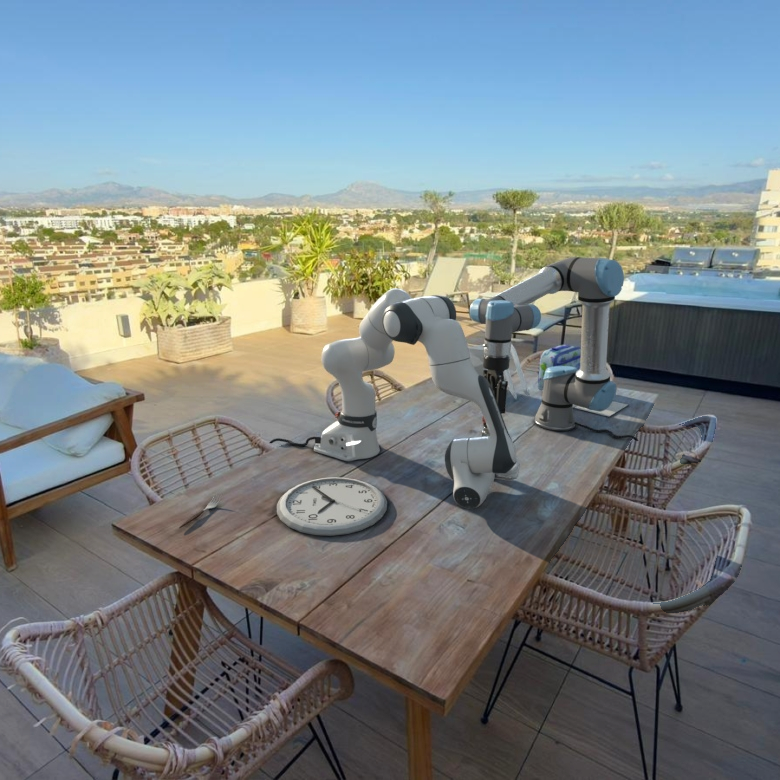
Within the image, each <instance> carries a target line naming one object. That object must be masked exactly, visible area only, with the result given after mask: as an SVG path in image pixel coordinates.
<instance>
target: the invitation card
mask: <svg viewBox="0 0 780 780" xmlns="http://www.w3.org/2000/svg"><path fill="white" fill-rule="evenodd" d="M628 406H629V404H627V403H623V402H618V401H614V400H613V401H612V403H611V404H610V406H609V407H608V408H607V409H606V410H604V411H600V412H599V411H594V410H589V409H587V408H584V407H580V406H577V405H575V406H574V407H573V409H575V410H581V411H584V412H587V413H593V414H596V415H600V416H604V417H608V418H609V417H611V416H613V415H614V414H616V413H617V412H619V411H621V410H623V409H624V408H626V407H628Z"/></svg>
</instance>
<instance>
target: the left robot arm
mask: <svg viewBox="0 0 780 780" xmlns="http://www.w3.org/2000/svg"><path fill="white" fill-rule="evenodd" d="M456 319H457V310H456V306H455V304H454V302H453V300H451V299H450V298H449V297H447V296H445V295H439V294H433V295H428V296H418V297H415V298H412V297H411V295H410V294H409V293H408V292H406V291H405V290H403V289H400V288H391V289H389V290H387V291H386V292H385V293H383V294H382V295H381V296H380V297H379V298H378V299H377V300H376V301H375V302H374V303H373V304H372V306H371V307H370V308H369V310H368V312H367V313H366V314H365V316H363V318H362V319H361V321H360V323H359V326H358V333H359V334H358V335H359V336H358V337H353V338H345V339H338V340H335V341H333V342H330V343H327V344H325V346H324V347H323V349H322V351H321V355H320V359H321V361H320V362H321V365H322V367H323V369H324V370H325V371H326V372H327V373H328V374H330V375H331V376H332V377H333V378H334V379H335V380H336V382H337V383H338V384H339V388H340V393H341V408H340V410H338V411H337V413H335V417H334V418H335V419H336V418H337V420H336V421H334V422H333V423H331V424H330V425H328V426H327V427H325V429H324V430H323V431H322V432H321V431H319V432H317V433H316V435H314V436H309V437H308V438H306V440H305V442H304V443H298V442H294V441H292V440H290V439H285V438H277V437H276V438H273V439H272V440H270V441H269V442H268V444H273V443H275V442H284V443H288V444H290V445H292V446H295V447H306V446H307V445H308V444H309V442H310V441H313V440H314V446H313V451H314V452H315V453H319V454H321V455H325V456H328V457H332V458H335V459H338V460H341V461H345V462H353V461H356V460H364V459H369V458H373V457H375V456H377V455H378V454H379V453H380V452H381V448H380V445H379V441H378V435H377V426H378V425H377V424H378V413H377V412H378V411H377V410H376V405H377V403H376V399H377V398H376V397H377V395H376V390H375V387H374V386H373V385H372V384H371V383H369V382H367V381H365V380H364V378H363V372H369V371H374V370H378V369H381V368H383V367H385V366H388V365H390V364H392V362H393V361H394V358H395V355H396V353H395V351H396V349H395V346H394V343H393V342H398V343H403V344H404V343H405V344H409V345H411V346H415V345H416V344H417V343H418V342H419V343H421V344H422V345H423V346H424V348H425V351H426V355H427V362H428V367H429V368H428V369H429V373H430V376H431V379H432V382H433V384H434V386H435V387H436V388H437V389H439V390H440V391H441V392H443V393H444V394H447V395H450V396H452V397H457V398H462V399H465V400H469V401H470V402H472V403H474V404H475V405H477V406H478V408H479V409H480V411H481V414H482V417H483V416H484V419H485V422H486V425H487V427H488V430H489V433H490V436H484V437H482V436H474V437H461V438H453V439H452V440H451V441H450V442H449V444H448V445H447V447H446V450H445V453H444V465H445V469H446V472H447V474H448V476H449V477H450V479H451V480H452V481H453V489H452V496H453V500H454V501H455V503H456V504H457V505H458V506H460V507H462V508H463V509H469V510H470V509H476V508H478V507H480V506H481V505H482V504H483V503H484V501H485V500H486V499H487V497H488V495H489V493H490V490H491V487H492V486H493V484H494V481H495V479H496V480H502V481H507V482H511V481H514V480H517V479H518V478H519V474H520V468H521V463H520V462H519V461H518V460H517V457H518V456H517V449H516V446H515V444H514V442H513V439H512V438H511V435H510V433H509V431H508V428H507V425H506V423H505V421H504V417H503V414H501V412H500V409H499V406H498V404H497V401H496V398H495V396H494V393H493V391H492V388H491V386H490V384H489V382H488V380H487V379H486V377H484V376H481V375H479V374H478V372H477V371H476V370H475V368H474V366H473V364H472V362H471V358H470V353H469V348H468V346H469V345H468V341H467V338H466V334H465V331H464V329H463V327H462V325H461V323H460V322H459V321H457V320H456Z"/></svg>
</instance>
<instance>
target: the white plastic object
mask: <svg viewBox="0 0 780 780" xmlns="http://www.w3.org/2000/svg"><path fill="white" fill-rule="evenodd" d="M468 348H469V353H470V358H471V362H472V364H473V366H474V368H475V370H476V371H477V372H478V374H479V375H481V376H484V375H483V370H488V369H485V368H484V367H483V357H484V355H485V353H484V347H483V344H479V345H473V346H469V345H468ZM508 356H509V357H510V361H511V360H513V363H514V366H515V369H516V372H517V376H518V380H519V382H520V385H521V389H522V391H523V393H524V395H525V396H526V397H528V396H531V395H530V390H529V388H528V387H529V386H528V384H527V381H526V378H525V375H524V371H523V369H522V368H523V367H522V366H521V362H520V359H519V355H518V352H517V349H516V347H515V346H514V345H513V343H511V352H510V355H508ZM503 373H504V378H505V381H508V386H507V388H508V390H509V393H510V394H511V395H512V397H513V398H514V399H515V400H517V392H516V391H517V390H516V388H515V385H514V381H513V378H512V375H511V371H510V367H509V368H508V369H507V370H505V371H504V372H503Z"/></svg>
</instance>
